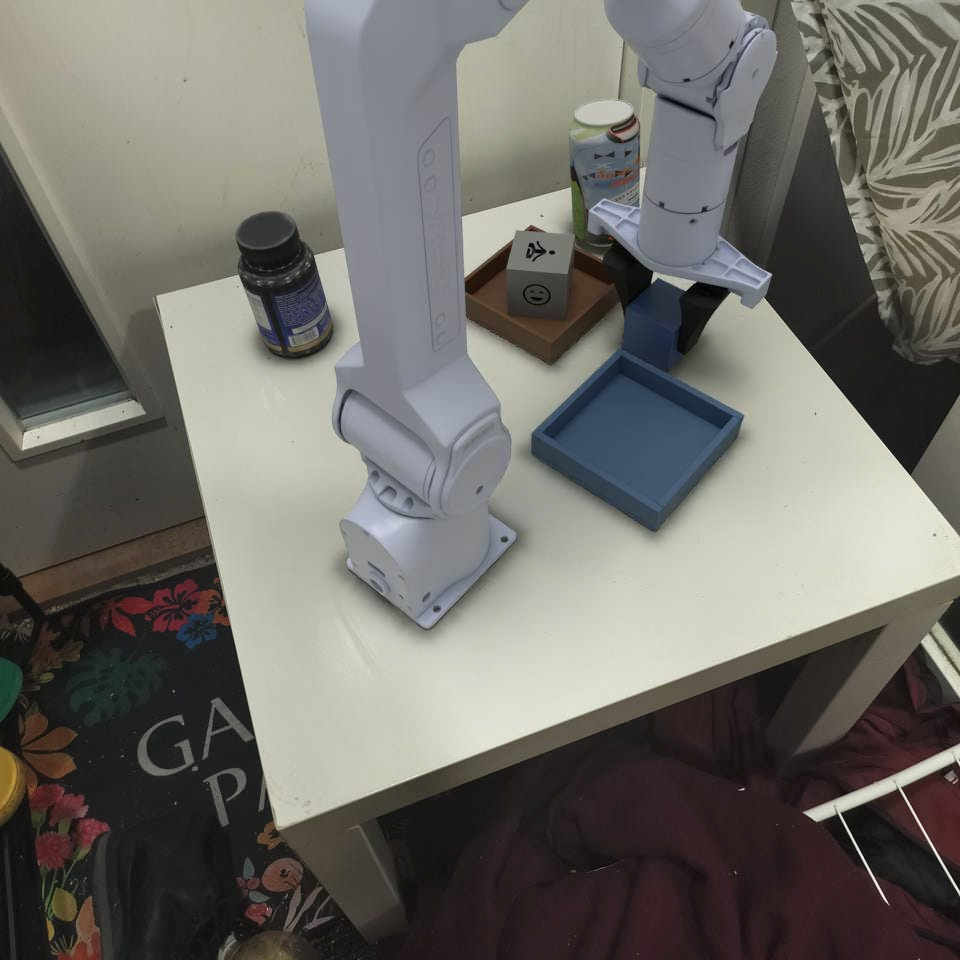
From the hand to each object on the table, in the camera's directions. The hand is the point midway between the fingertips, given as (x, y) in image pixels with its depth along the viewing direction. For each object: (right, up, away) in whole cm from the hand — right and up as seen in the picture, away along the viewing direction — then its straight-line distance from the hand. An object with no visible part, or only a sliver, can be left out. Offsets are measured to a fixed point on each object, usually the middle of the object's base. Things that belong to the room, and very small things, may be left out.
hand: (661, 332), depth 69 cm
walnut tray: (-10, +4, +5) cm, 11 cm away
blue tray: (-3, -9, -5) cm, 11 cm away
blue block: (0, -1, +1) cm, 1 cm away
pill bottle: (-31, 0, +4) cm, 31 cm away
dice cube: (-9, +4, +5) cm, 11 cm away
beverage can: (-3, +11, +10) cm, 15 cm away
